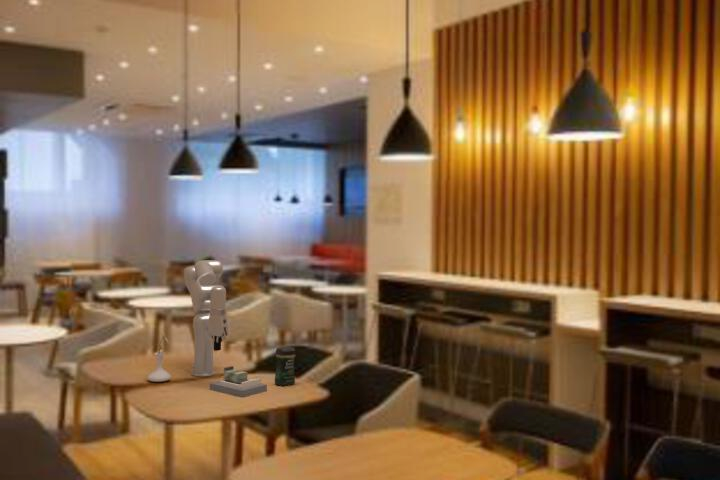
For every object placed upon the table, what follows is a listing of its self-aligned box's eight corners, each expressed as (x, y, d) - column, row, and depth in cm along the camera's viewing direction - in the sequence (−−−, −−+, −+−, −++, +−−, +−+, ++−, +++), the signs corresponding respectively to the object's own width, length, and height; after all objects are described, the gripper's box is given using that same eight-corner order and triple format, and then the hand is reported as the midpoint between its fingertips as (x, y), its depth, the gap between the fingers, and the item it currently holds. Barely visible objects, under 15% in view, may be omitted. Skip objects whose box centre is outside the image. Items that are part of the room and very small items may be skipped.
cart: (223, 382, 348) (223, 367, 348) (232, 380, 353) (232, 366, 352) (238, 386, 342) (238, 370, 342) (247, 383, 347) (247, 369, 346)
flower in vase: (167, 383, 355) (168, 332, 355) (144, 383, 356) (144, 332, 355) (174, 377, 368) (175, 328, 368) (152, 377, 369) (152, 328, 368)
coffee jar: (280, 387, 354) (281, 349, 354) (272, 383, 361) (273, 346, 360) (297, 384, 361) (298, 347, 360) (288, 381, 367) (289, 344, 366)
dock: (209, 389, 346) (209, 376, 346) (234, 383, 359) (234, 371, 359) (242, 397, 333) (242, 384, 333) (266, 390, 346) (267, 378, 346)
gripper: (234, 313, 352) (233, 351, 353) (213, 310, 361) (212, 347, 362) (222, 314, 346) (222, 353, 347) (201, 311, 355) (201, 349, 355)
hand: (217, 350), depth 354 cm, fingers closed
